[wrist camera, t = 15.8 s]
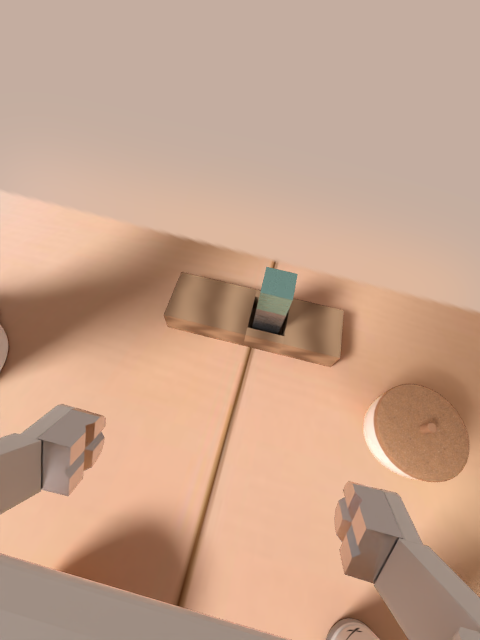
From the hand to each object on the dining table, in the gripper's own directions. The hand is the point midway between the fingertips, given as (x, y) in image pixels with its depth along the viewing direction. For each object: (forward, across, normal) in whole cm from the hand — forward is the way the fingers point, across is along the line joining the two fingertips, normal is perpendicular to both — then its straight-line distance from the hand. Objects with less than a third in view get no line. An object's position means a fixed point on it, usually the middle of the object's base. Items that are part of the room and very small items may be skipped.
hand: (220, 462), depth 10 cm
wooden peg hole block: (+37, 0, +7) cm, 38 cm away
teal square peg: (+37, -2, +7) cm, 38 cm away
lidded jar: (+29, -22, +16) cm, 40 cm away
